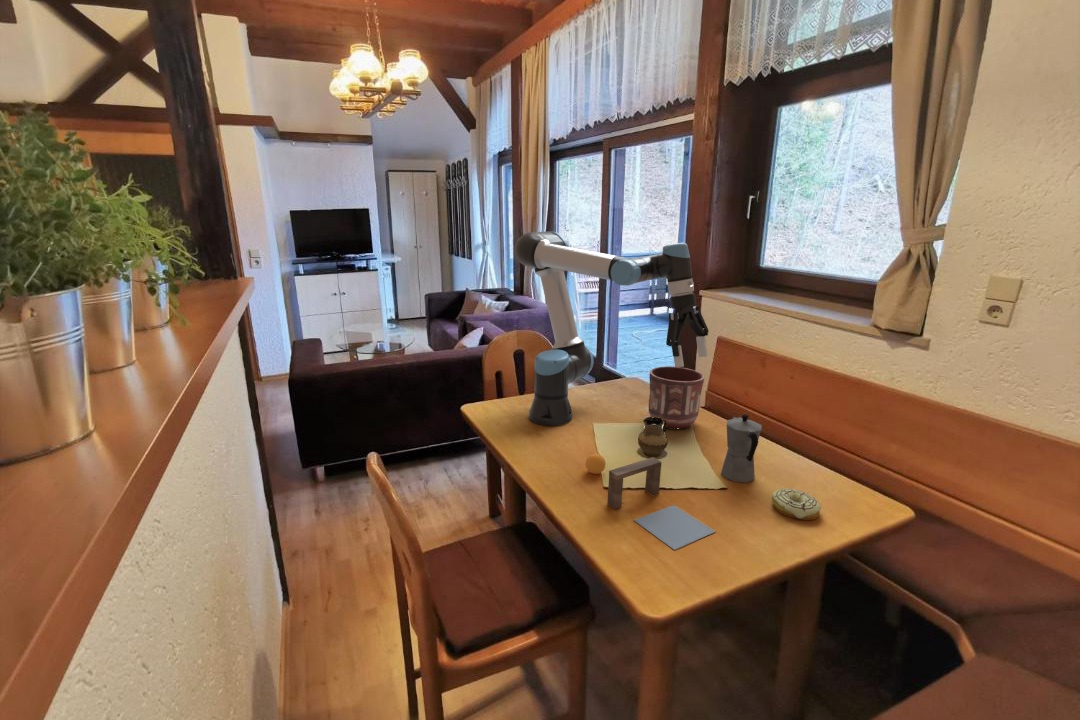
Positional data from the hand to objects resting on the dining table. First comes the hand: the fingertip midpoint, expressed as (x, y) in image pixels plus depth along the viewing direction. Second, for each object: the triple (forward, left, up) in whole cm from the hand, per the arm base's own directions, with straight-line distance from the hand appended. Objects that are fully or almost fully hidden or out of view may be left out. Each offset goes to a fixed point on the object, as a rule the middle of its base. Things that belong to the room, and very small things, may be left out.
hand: (691, 361), depth 164 cm
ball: (+5, -41, -22) cm, 47 cm away
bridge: (+21, -41, -25) cm, 52 cm away
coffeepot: (+27, -8, -25) cm, 38 cm away
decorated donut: (+45, -10, -26) cm, 53 cm away
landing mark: (+35, -41, -25) cm, 60 cm away
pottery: (-10, +4, -25) cm, 27 cm away
